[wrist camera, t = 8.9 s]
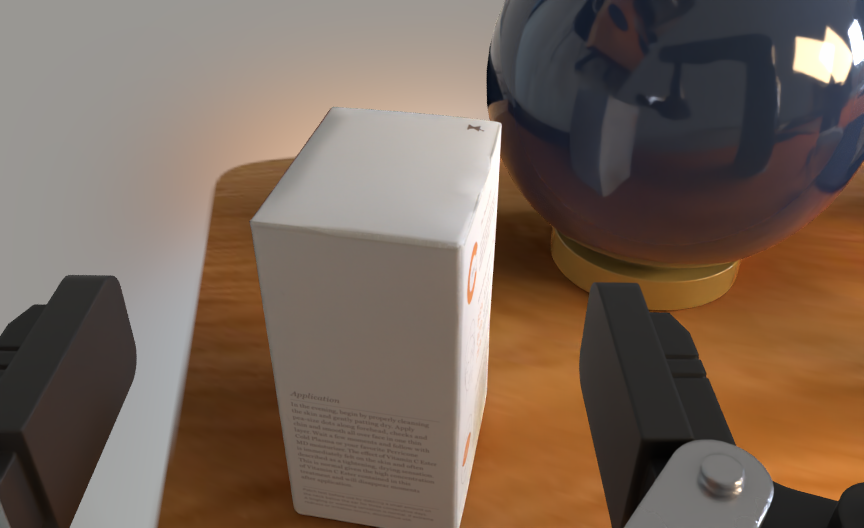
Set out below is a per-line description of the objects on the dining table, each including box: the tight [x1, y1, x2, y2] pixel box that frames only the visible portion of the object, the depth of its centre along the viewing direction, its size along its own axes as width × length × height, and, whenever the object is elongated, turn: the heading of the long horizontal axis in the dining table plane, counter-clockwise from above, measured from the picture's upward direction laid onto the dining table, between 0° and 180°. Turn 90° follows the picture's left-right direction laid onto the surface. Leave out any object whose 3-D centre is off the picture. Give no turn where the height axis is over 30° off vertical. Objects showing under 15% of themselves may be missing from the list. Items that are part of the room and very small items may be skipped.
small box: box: [249, 107, 502, 528], centre depth 29 cm, size 8×6×13 cm
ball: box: [487, 0, 864, 310], centre depth 39 cm, size 18×18×19 cm
